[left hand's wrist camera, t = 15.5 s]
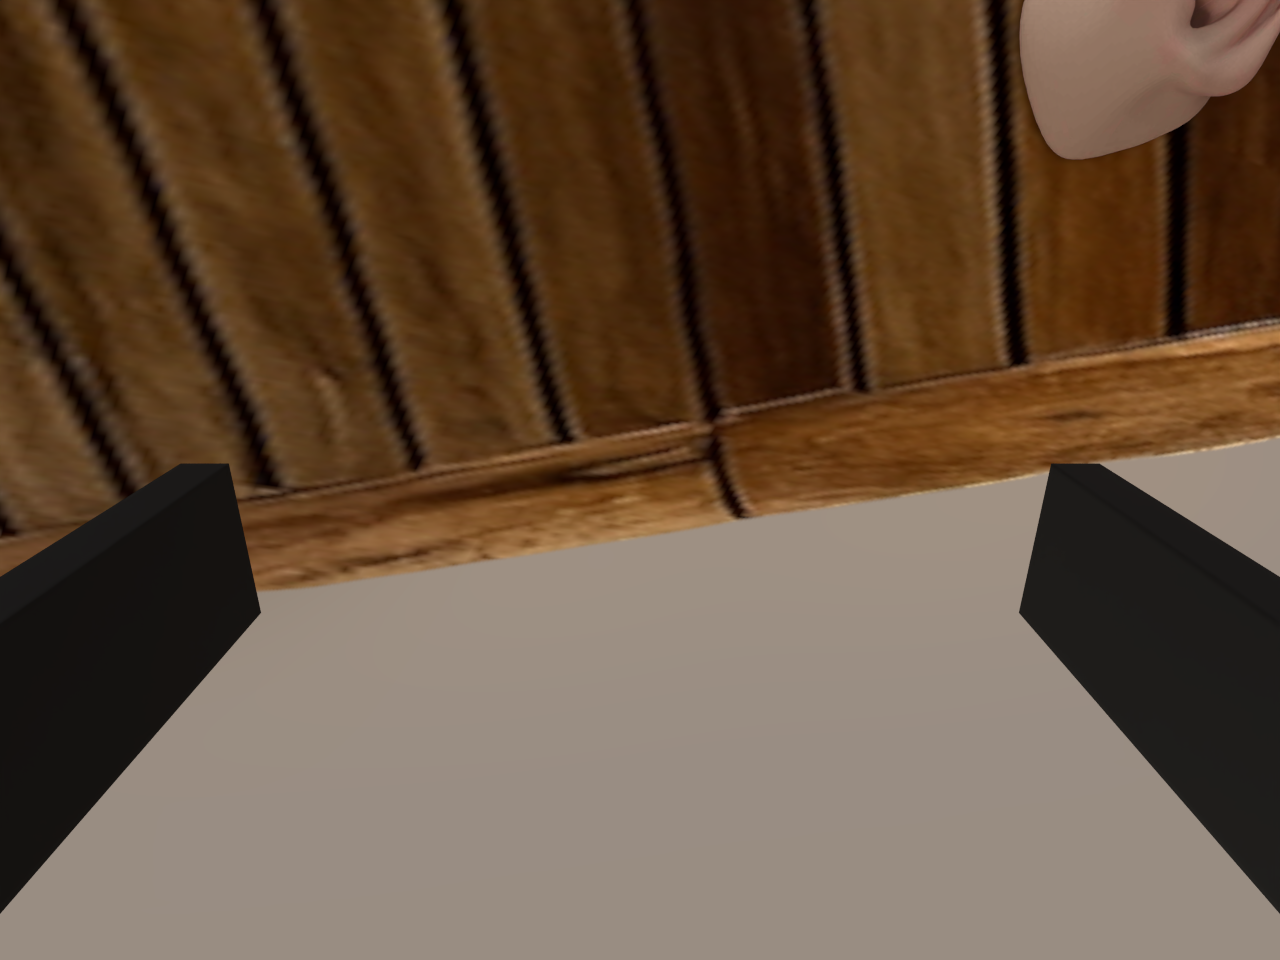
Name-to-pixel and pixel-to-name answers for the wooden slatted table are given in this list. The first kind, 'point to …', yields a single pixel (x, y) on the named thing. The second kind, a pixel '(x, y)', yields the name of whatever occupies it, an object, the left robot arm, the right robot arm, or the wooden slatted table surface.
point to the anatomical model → (1135, 65)
